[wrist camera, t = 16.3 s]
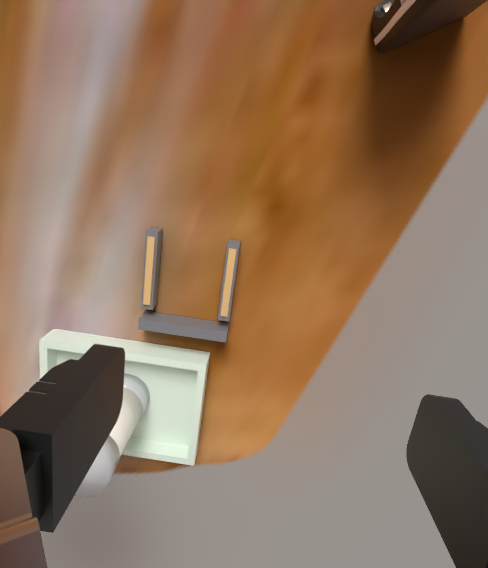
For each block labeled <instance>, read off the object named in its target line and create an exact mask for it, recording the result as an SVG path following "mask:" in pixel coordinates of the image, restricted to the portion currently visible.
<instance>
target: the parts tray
mask: <svg viewBox="0 0 488 568" xmlns="http://www.w3.org/2000/svg"><path fill="white" fill-rule="evenodd" d="M94 344H101V345H108V346H114V347H121V348H124V351H125V368H124V373H126V374H131V375H134V376H136V377H138V378H140V379H141V380H142V381H143V382H144V383H145V384H146V386H147V387H148V390H149V393H150V401H149V404H148V406H147V408H146V410H145V412H144V414H143V416H142V418H141V419H140V421H139V422H138V423H137V425H136V427H135V429H134V431H133V433H132V435H131V437H130V439H129V441H128V443H127V445H126V447H125V449H124V451H123V453H122V455H127V456H134V457H140V458H147V459H153V460H160V461H166V462H173V463H180V464H186V465H193V466H194V464H195V459H196V455H197V451H198V446H199V438H200V430H201V422H202V414H203V406H204V398H205V390H206V382H207V374H208V366H209V359H210V352H206V351H199V350H193V349H186V348H179V347H173V346H166V345H159V344H153V343H146V342H140V341H133V340H126V339H120V338H113V337H106V336H100V335H93V334H86V333H80V332H73V331H66V330H60V329H53V330H51V331H50V332H49V333H48V334H46V335H45V336H44V337H42V338H41V339H40V340H39V353H40V379H41V378H42V377H43V376H44V375H45V374H46V373H47V372H48V371H49V370H50V369H51V368H52V367H55V366H57V365H59V364H61V363H63V362H65V361H67V360H69V359H74V360H79V359H80V358H81V357H82V356H83V355H84V354H85V353H86V352H87V351H88V350H89V349H90V348H91V346H92V345H94Z"/></svg>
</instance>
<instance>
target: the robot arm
mask: <svg viewBox="0 0 488 568" xmlns="http://www.w3.org/2000/svg"><path fill="white" fill-rule="evenodd" d="M124 368H125V351H124V348H121V347H114V346H108V345H101V344H94V345H92V346H91V348H90V349H89V350H88V351H87V352H86V353H85V354H84V355H83V356H82V357H81V358H80V359H79V360H74V359H69V360H67V361H65V362H63V363H61V364H59V365H57V366H55V367H52V368H51V369H50V370H49V371H48V372H47V373H46V374H45V375H44V376H43V377H42V378H41V379H40V381H39V382H36V383H35V384H34V385H33V386H32V387H31V388H30V389H29V392H26V393H25V394H24V395H23V396H22V397H21V398H20V399H19V400H18V401H17V402H16V403H14V404H13V405H12V406H11V407H10V408H9V409H8V410H7V411H6V412H5V413H4V414H3V415H2V416H1V417H0V568H47V562H46V557H45V552H44V547H43V542H42V537H41V532H40V531H46V532H52V533H53V532H54V530H55V528H56V526H57V525H58V523H59V521H60V520H61V518H62V516H63V514H64V513H65V511H66V509H67V507H68V506H69V504H70V502H71V500H72V499H73V497H74V495H75V494H76V492H77V490H78V488H79V487H80V485H81V483H82V481H83V480H84V478H85V476H86V474H87V473H88V471H89V469H90V468H91V466H92V464H93V462H94V461H95V459H96V457H97V455H98V454H99V452H100V450H101V448H102V447H103V445H104V443H105V442H106V440H107V438H108V436H109V435H110V433H111V431H112V429H113V428H114V426H115V424H116V422H117V420H118V418H119V415H120V411H121V407H122V402H123V387H124ZM407 462H408V466H409V469H410V471H411V473H412V475H413V477H414V479H415V482H416V484H417V486H418V488H419V490H420V492H421V494H422V496H423V499H424V501H425V503H426V505H427V507H428V509H429V511H430V513H431V515H432V518H433V520H434V522H435V524H436V526H437V528H438V530H439V532H440V534H441V537H442V539H443V541H444V543H445V545H446V547H447V549H448V551H449V553H450V556H451V558H452V559H453V562H454V564H455V566H456V568H488V428H486V427H485V426H484V425H482V424H481V423H480V422H478V421H476V420H475V419H474V417H473V416H472V415H471V414H470V413H469V411H468V410H467V409H466V408H465V406H464V405H463V404H462V403H461V402H460V401H459V400H458V399H455V398H448V397H441V396H435V395H425V396H424V397H423V399H422V400H421V403H420V406H419V409H418V412H417V415H416V418H415V421H414V425H413V428H412V431H411V434H410V437H409V441H408V444H407Z"/></svg>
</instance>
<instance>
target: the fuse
mask: <svg viewBox="0 0 488 568" xmlns="http://www.w3.org/2000/svg"><path fill="white" fill-rule="evenodd" d="M149 401H150V393H149V390H148V387H147V386H146V384H145V383H144V382H143V381H142V380H141V379H140V378H138V377H136V376H134V375H131V374H126V373H124V387H123V402H122V407H121V411H120V415H119V418H118V420H117V422H116V424H115V426H114V428H113V429H112V431H111V433H110V435H109V436H108V438H107V440H106V442H105V443H104V445H103V447H102V448H101V450H100V452H99V454H98V455H97V457H96V459H95V461H94V462H93V464H92V466H91V468H90V469H89V471H88V473H87V474H86V476H85V478H84V480H83V481H82V483H81V485H80V487H79V488H78V490H77V492H76V494H75V495H74V496H77V497H91V496H94V495H97V494H99V493H101V492H102V491H103V490H104V489H105V488H106V487H107V485H108V483H109V481H110V479H111V477H112V475H113V473H114V471H115V469H116V467H117V465H118V463H119V460H120V457H121V455H122V453H123V451H124V449H125V447H126V445H127V443H128V441H129V439H130V437H131V435H132V433H133V431H134V429H135V427H136V425H137V423H138V422H139V421H140V419H141V418H142V416H143V414H144V412H145V410H146V408H147V406H148V404H149Z"/></svg>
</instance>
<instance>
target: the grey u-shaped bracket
mask: <svg viewBox="0 0 488 568" xmlns="http://www.w3.org/2000/svg"><path fill="white" fill-rule="evenodd" d="M162 232H163V229H161V228H154V227H151V228H149V229H147V230H146V242H145V257H144V272H143V288H142V303H141V308H142V309H148V310H153V309H154V307H155V306H156V305H157V297H158V284H159V271H160V258H161V245H162ZM240 242H241V240H235V239H229V240H228V243H227V251H226V259H225V267H224V275H223V282H222V290H221V298H220V306H219V313H218V320H222V321H228V322H229V319H230V314H231V307H232V300H233V293H234V286H235V278H236V271H237V264H238V257H239V250H240ZM138 329H139V330H146V331H152V332H159V333H166V334H172V335H179V336H186V337H192V338H199V339H206V340H212V341H219V342H225V343H226V340H227V335H228V329H229V323H224V322H217V321H211V320H204V319H197V318H190V317H184V316H177V315H170V314H164V313H157V312H150V311H145V312H144V313H143V315H142V316H141V317H140V318H139V325H138Z"/></svg>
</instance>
